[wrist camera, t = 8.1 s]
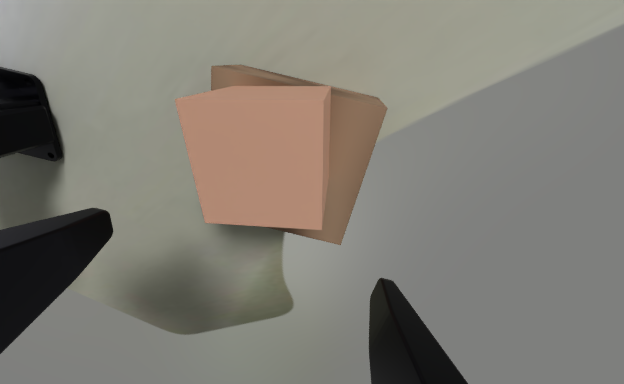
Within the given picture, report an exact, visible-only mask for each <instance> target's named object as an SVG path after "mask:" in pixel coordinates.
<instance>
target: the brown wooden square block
mask: <svg viewBox="0 0 624 384" xmlns="http://www.w3.org/2000/svg"><path fill="white" fill-rule="evenodd" d="M231 86H327V85H323V84H319V83H314V82H310V81H306V80H302V79H298V78H294V77H289V76H285V75H281V74H277V73H273V72H269V71H264V70H260V69H256V68H252V67H248V66H243V65H224V66H212V68H211V91H213V90H217V89H222V88H226V87H231ZM386 111H387V107H386V106H385V105H384V104H383V103H382V102H381V101H380V99H379V98H377V97H373V96H369V95H365V94H360V93H356V92H352V91H348V90H344V89H339V88H335V87H331V104H330V143H329V179H328V187H327V195H326V202H325V210H324V217H323V225H322V230H312V229H296V228H280V227H268V228H272V229H276V230H280V231H284V232H288V233H293V234H297V235H301V236H306V237H309V238H313V239H318V240H322V241H326V242H330V243H334V244H338V245H341V242H342V239H343V236H344V234H345V231H346V227H347V224H348V222H349V219H350V216H351V213H352V210H353V207H354V204H355V201H356V198H357V196H358V193H359V190H360V187H361V184H362V181H363V178H364V175H365V172H366V169H367V166H368V163H369V160H370V158H371V155H372V151H373V149H374V146H375V143H376V140H377V137H378V134H379V131H380V128H381V125H382V123H383V120H384V117H385V114H386Z"/></svg>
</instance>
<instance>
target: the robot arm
mask: <svg viewBox="0 0 624 384" xmlns="http://www.w3.org/2000/svg"><path fill="white" fill-rule="evenodd" d="M15 153H21V154H25V155H30V156H34V157H38V158H42V159H46V160H50V161H57V160H60V159H61V158H62V154H61V150H60V147H59V144H58V140H57V137H56V133H55V130H54V126H53V123H52V119H51V116H50V112H49V109H48V105H47V102H46V99H45V95H44V92H43V88H42V85H41V82H40V80H39V79H38V78H37V77H36V76H34V75H32V74H28V73H24V72H20V71H15V70H11V69H7V68H3V67H0V158H1V157H4V156H8V155H11V154H15ZM112 234H113V227H112V222H111V218H110V214H109V212H108V211H106V210H102V209H98V208H90V209H86V210H81V211H77V212H73V213H69V214H65V215H61V216H57V217H52V218H48V219H44V220H40V221H36V222H32V223H28V224H23V225H19V226H15V227H11V228H7V229H3V230H0V354H1V353H2V352H3V351H4V350H5V349H6V348H7V347H8V346H9V345H10V344H11V343H12V342H13V341H14V340H15V339H16V338H17V337H18V336H19V335H20V334H21V333H22V332H23V331H24V330H25V329H26V328H27V327H28V326H29V325H30V324H31V323H32V322H33V321H34V320H35V319H36V318H37V317H38V316H39V315H40V314H41V313H42V312H43V311H44V310H45V309H46V308H47V307H48V306H49V305H50V304H51V303H52V302H53V301H54V300H55V299H56V298H57V297H58V296H59V295H60V294H61V293H62V292H63V291H64V290H65V289H66V288H67V287H68V286H69V285H70V284H71V283H72V282H73V281H74V280H75V279H76V278H77V277H78V276H79V275H80V274H81V272H82V271H83V270H84V269H85V268H86V267H87V265H88V264H89V263H90V262H91V261H92V259H93V258H94V257H95V256H96V255H97V254H98V252H99V251H100V250H101V249H102V248H103V246H104V245H105V244H106V243H107V242H108V241H109V239H110V238H111V236H112ZM369 325H370V326H369V359H370V371H371V384H468V383H467V382H466V380H465V379H464V378H463V376H462V375H461V373H460V372H459V371H458V370H457V368H456V366H455V365H454V364H453V362H452V361H451V360H450V359H449V357H448V356H447V354H446V353H445V351H444V350H443V349H442V347H441V346H440V345H439V343H438V342H437V340H436V339H435V338H434V336H433V335H432V334H431V332H430V331H429V329H428V328H427V327H426V325H425V324H424V323H423V321H422V320H421V319H420V317H419V316H418V314H417V313H416V312H415V310H414V309H413V308H412V306H411V305H410V303H409V302H408V301H407V299H406V298H405V297H404V295H403V294H402V292H401V291H400V290H399V288H398V287H397V286H396V284H395V283H394V282H393V281H391V280H388V279H384V278H380V279H379V280H378V282H377V284H376V286H375V288H374V290H373V292H372V294H371V298H370V321H369Z"/></svg>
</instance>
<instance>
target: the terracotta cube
mask: <svg viewBox="0 0 624 384" xmlns="http://www.w3.org/2000/svg"><path fill="white" fill-rule="evenodd" d="M175 102H176V106H177V110H178V114H179V118H180V123H181V127H182V131H183V135H184V139H185V143H186V147H187V151H188V155H189V159H190V163H191V167H192V171H193V175H194V179H195V184H196V188H197V192H198V196H199V200H200V204H201V208H202V212H203V216H204V220H205V223H215V224H232V225H248V226H264V227H280V228H296V229H312V230H322V225H323V217H324V210H325V202H326V195H327V187H328V179H329V143H330V104H331V86H231V87H226V88H222V89H217V90H213V91H209V92H204V93H200V94H196V95H191V96H187V97H182V98H178V99H175Z"/></svg>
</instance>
